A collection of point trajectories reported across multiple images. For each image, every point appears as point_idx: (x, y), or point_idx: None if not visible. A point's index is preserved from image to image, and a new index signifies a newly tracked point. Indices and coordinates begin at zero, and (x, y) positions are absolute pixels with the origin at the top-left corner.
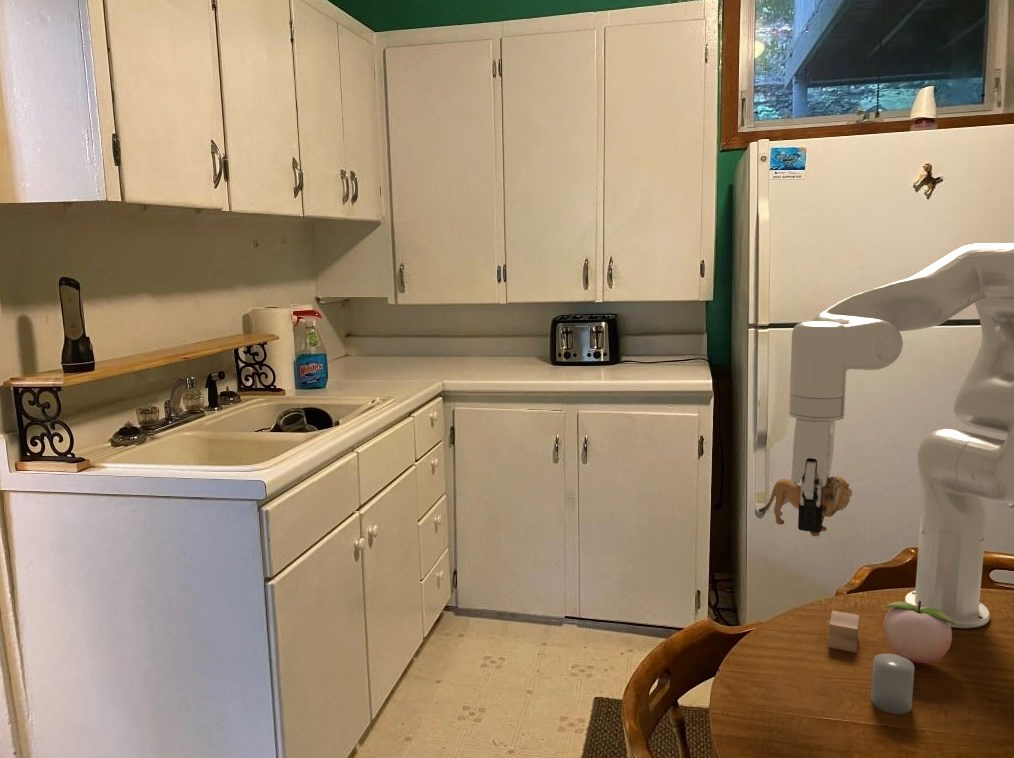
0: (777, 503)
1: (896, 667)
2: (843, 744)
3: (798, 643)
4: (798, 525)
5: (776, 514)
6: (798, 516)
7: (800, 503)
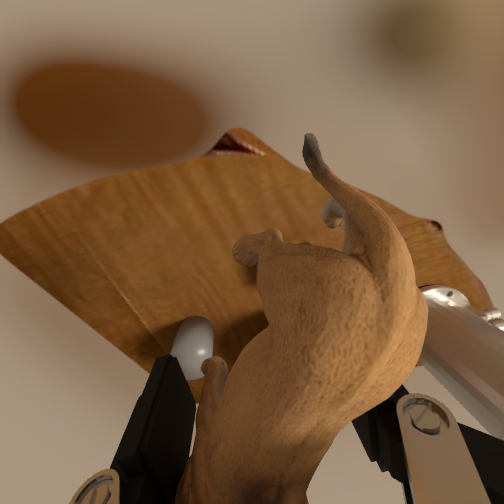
0: (262, 262)
1: (181, 367)
2: (94, 321)
3: (257, 219)
4: (153, 366)
5: (256, 241)
6: (141, 396)
7: (75, 496)
